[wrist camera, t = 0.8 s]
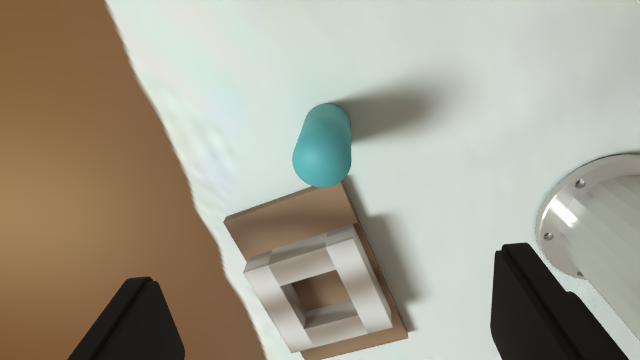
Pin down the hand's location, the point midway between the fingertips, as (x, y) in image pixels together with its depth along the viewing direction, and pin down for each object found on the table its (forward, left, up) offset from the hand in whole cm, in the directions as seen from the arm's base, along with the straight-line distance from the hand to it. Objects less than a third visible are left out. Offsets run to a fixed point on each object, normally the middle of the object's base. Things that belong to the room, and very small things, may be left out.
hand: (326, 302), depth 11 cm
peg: (-1, +2, -24) cm, 24 cm away
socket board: (-12, +14, -24) cm, 30 cm away
